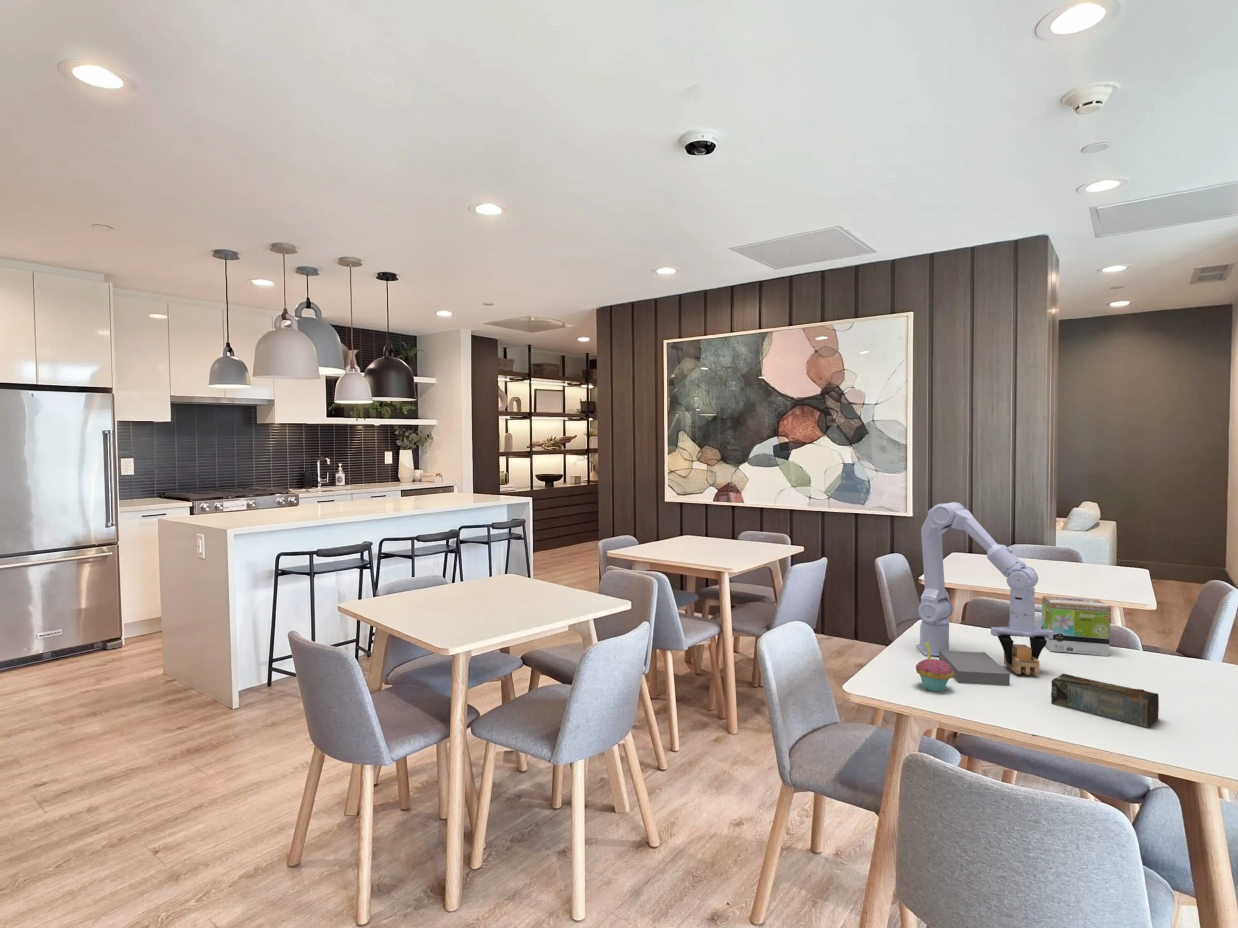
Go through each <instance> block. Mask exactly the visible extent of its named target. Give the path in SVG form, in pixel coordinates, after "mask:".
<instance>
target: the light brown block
mask: <svg viewBox="0 0 1238 928" xmlns="http://www.w3.org/2000/svg"><path fill="white" fill-rule="evenodd" d="M1031 653H1032V649H1031V647H1029V646H1028V645H1027V644H1022V643H1021V644H1018V643H1017V644H1016V643H1015V644H1014V643H1013V647H1012V655H1014V656H1015V657H1016V658H1017V659H1022V660H1031Z"/></svg>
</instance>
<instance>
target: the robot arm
mask: <svg viewBox="0 0 1238 928" xmlns="http://www.w3.org/2000/svg"><path fill="white" fill-rule="evenodd" d="M950 528H952V529H955V530H961V531H964V532H965V533H967V535H968V536H970V538H972V539H973V540H974V541H975V542H976V543H978V545H980V547H982V548H983V550H984V551H986V558H987V560H988V561H989V562H990V563H992V565H993V566H994V567H995V568H996V569H997V570H998V571H999V572H1000V573H1001V574H1002V575H1003V576H1004V577H1005V578H1006V584H1007V585H1008V587H1009V588H1010V589H1009V591H1010V594H1009V626H991V627H990V634H991V635H992V636H993V637H997V638H998V640H999V643H1000V645H1001V647H1002V649H1003V654H1004V653H1005V658H1006V662H1007V663H1008V664H1012V647H1013V644H1014V642H1015V641H1014V640H1013V639H1012V637H1022V638H1023V637H1024V638H1029V643H1030V644H1029V645H1030V648H1031V649H1032V653H1031V655H1032V656H1033V657H1035V658H1036V659H1037V660H1039V658H1040V655H1041V653H1042V651H1043V650H1044V648H1045V645H1046V643H1047V640H1046V639H1045V638H1049V639H1053V631H1051V630H1047V629H1041V628H1038V627H1037V628H1036V627H1035V612H1036V611H1035V610H1036V609H1035V608H1036V607H1035V606H1036V604H1035V603H1036V594H1035V591H1036V588H1035V586H1036V585H1037V584H1038V582H1039V576H1038V574H1037V572H1036V570H1035V568H1033V567H1031V566H1028V565H1027V564H1026V563H1025V561H1021V560H1020V559H1019V558H1018V556H1016V555H1015V553H1013V551H1014V550H1013V548H1012V547H1010V546H1009V547H1007V545H1005V544H999V543H997V542H996V540H995V539H993V537H992V536H991V535H990V534H989V532H987V530H986V529H985V528H984V527H983V526H982V525H981V524H980V523H979V521H978V520H976V518H975V517H974V515H973V514H972V513H971V512H970V510H968V509H967V508H965V506H964V505H963V504H961V503H959V502H957V501H953V502H948V503H938V504H935V505H934V506H933V507H932V508H930V509H929V510H928V511H927V517H926V518H925V520H924V521H923V524H922V526H921V530H920V531H921V533H920V534H921V548H922V566H923V581H924V583H923V584H924V591H923V592H922V594H921V596H920V603H919V606H918V608H917V609H918V610H917V613H918V615H919V618H920V619H921V622H920V627H919V644H918V643H917V644H916V645H915V646H916V648H918V649H919V651H920V652H921V653H922V654H923V656H928V655H927V649H926V640H927V642H928V644H929V650H930V656H934V657H939V650H944V651H950V620H949V617H951V616H952V614H953V612H954V607H953V604H952V602H951V599H950V596H949V595H950V594H949V593H948V591H947V589H946V587H945V584H946V583H945V573H944V572H945V568H944V555H943V554H944V553H943V552H944V551H943V541H942V540H943V537H942V535H943V534H944V533H946V532H947V531H948V530H949V529H950ZM925 639H926V640H925Z"/></svg>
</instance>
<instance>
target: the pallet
mask: <svg viewBox="0 0 1238 928" xmlns="http://www.w3.org/2000/svg"><path fill="white" fill-rule="evenodd" d="M1003 663H1004V664H1005V666H1006V667H1008V668H1009V669H1010V670H1012V672H1014V673H1015V674H1016V675H1021V674H1023V673H1024V675H1031V673H1032V674H1033V675H1034V676H1040V660H1039V659H1038V660H1037V659H1036V658H1035V657H1033V656H1032V655H1031V660H1022V659H1017V658H1016V657H1015V656H1014V655H1012V664H1008V663H1007V662H1006V658H1005V653H1004V652H1003Z"/></svg>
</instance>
